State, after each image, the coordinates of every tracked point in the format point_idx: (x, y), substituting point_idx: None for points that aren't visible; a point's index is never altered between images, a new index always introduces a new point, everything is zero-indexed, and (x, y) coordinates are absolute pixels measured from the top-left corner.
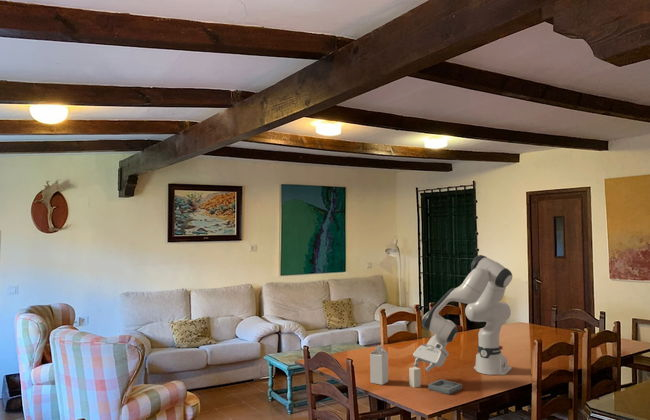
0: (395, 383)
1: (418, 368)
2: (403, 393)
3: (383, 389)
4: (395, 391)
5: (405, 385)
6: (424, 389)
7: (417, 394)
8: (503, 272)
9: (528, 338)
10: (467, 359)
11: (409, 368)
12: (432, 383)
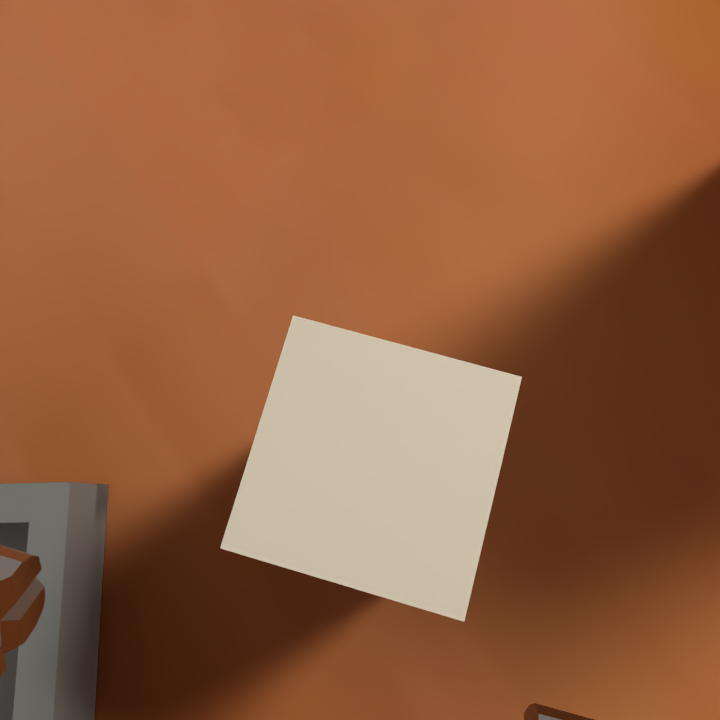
0: (691, 351)
1: (274, 527)
2: (284, 81)
3: (598, 17)
4: (420, 68)
5: None
6: (155, 441)
7: (110, 181)
8: None
9: None
10: None
11: (504, 375)
12: None
